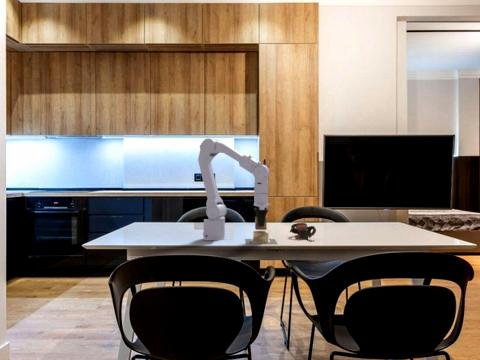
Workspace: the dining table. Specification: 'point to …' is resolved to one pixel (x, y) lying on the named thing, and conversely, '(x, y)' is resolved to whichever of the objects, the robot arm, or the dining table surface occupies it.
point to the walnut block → (260, 226)
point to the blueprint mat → (250, 241)
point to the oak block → (260, 236)
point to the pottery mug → (302, 230)
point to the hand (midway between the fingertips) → (260, 225)
